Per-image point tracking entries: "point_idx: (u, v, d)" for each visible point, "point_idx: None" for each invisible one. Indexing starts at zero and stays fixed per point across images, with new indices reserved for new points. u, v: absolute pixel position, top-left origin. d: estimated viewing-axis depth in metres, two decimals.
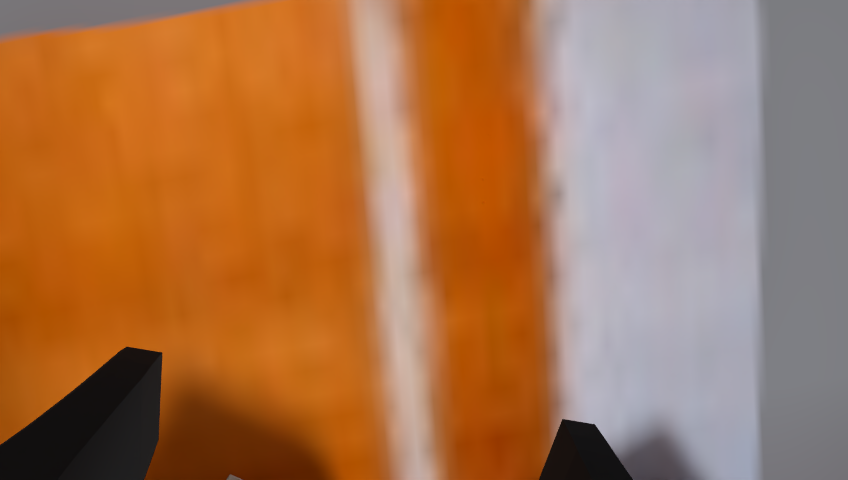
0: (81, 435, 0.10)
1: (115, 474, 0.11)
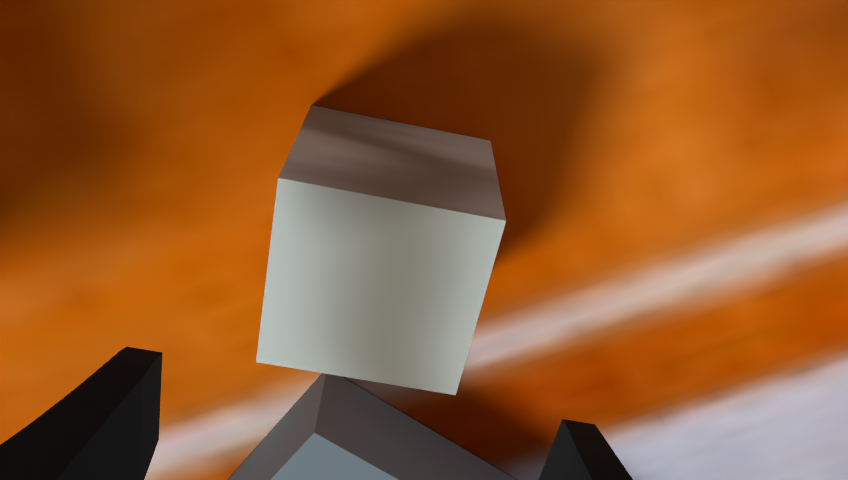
0: (81, 435, 0.10)
1: (115, 474, 0.11)
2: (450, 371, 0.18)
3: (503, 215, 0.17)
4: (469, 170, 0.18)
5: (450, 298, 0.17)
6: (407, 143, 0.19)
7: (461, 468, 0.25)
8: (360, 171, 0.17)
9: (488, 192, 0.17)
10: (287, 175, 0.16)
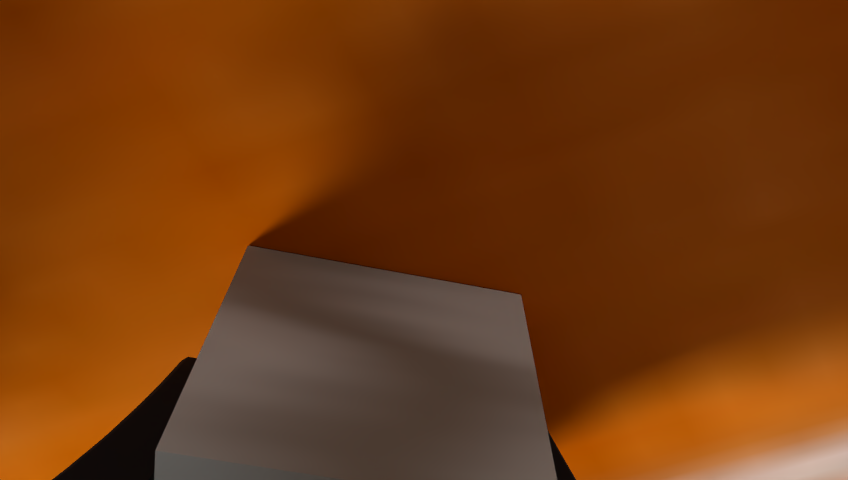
0: None
1: None
2: None
3: None
4: (493, 377, 0.11)
5: None
6: (393, 320, 0.12)
7: None
8: (311, 406, 0.10)
9: (527, 432, 0.10)
10: (174, 440, 0.09)
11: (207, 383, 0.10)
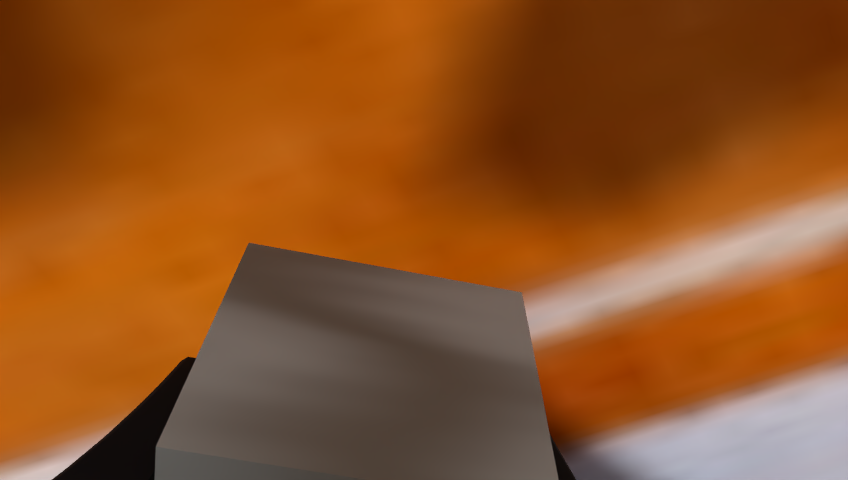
0: None
1: None
2: None
3: None
4: (494, 374, 0.11)
5: None
6: (394, 318, 0.12)
7: None
8: (312, 404, 0.10)
9: (528, 430, 0.10)
10: (175, 437, 0.09)
11: (208, 380, 0.10)
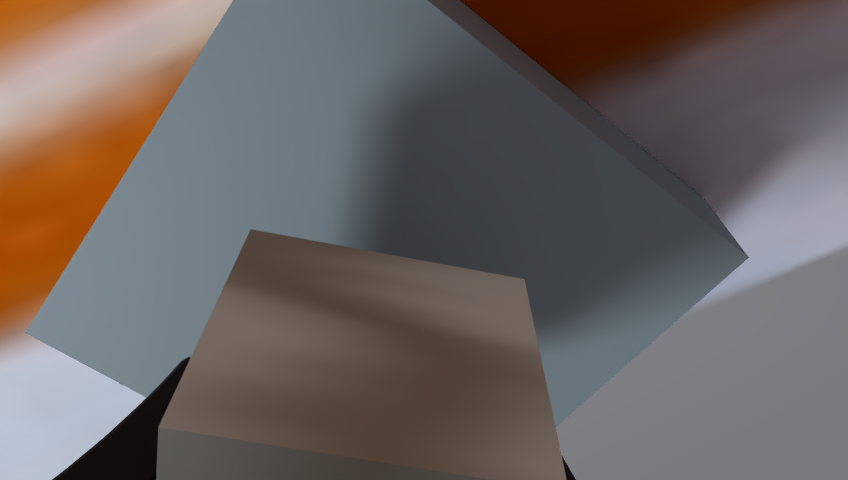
0: None
1: None
2: None
3: (562, 470, 0.09)
4: (497, 358, 0.11)
5: None
6: (396, 303, 0.12)
7: (524, 60, 0.16)
8: (314, 386, 0.10)
9: (532, 413, 0.10)
10: (177, 417, 0.09)
11: (210, 362, 0.10)
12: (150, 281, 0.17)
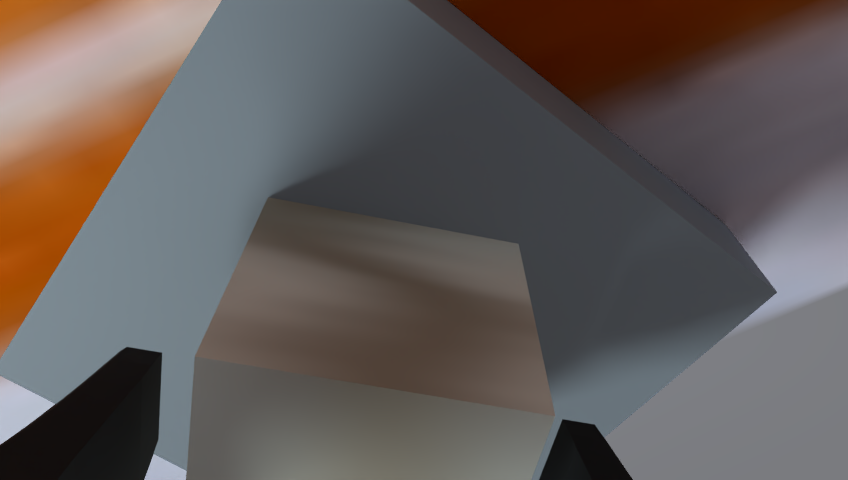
0: (81, 435, 0.10)
1: (115, 474, 0.11)
2: None
3: (549, 400, 0.11)
4: (492, 308, 0.12)
5: None
6: (402, 261, 0.13)
7: (532, 78, 0.15)
8: (330, 327, 0.11)
9: (523, 353, 0.11)
10: (210, 349, 0.10)
11: (237, 306, 0.11)
12: (127, 317, 0.16)
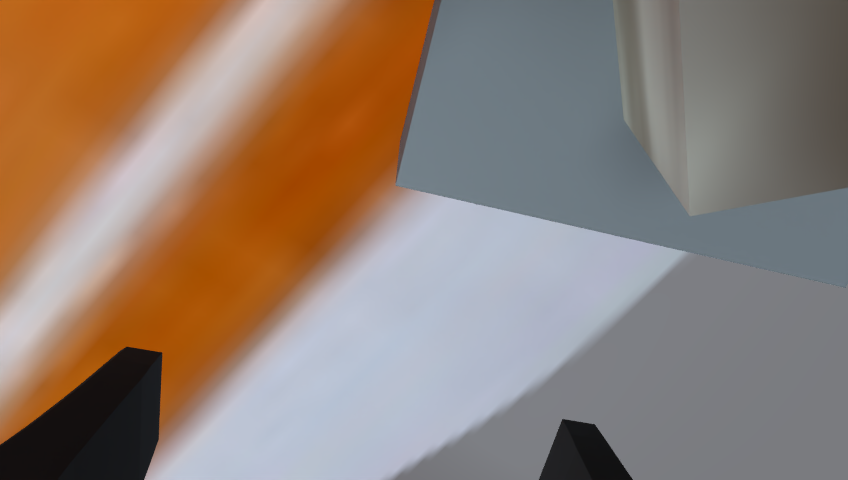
0: (81, 435, 0.10)
1: (115, 474, 0.11)
2: None
3: None
4: None
5: None
6: None
7: None
8: None
9: None
10: None
11: None
12: (499, 78, 0.17)
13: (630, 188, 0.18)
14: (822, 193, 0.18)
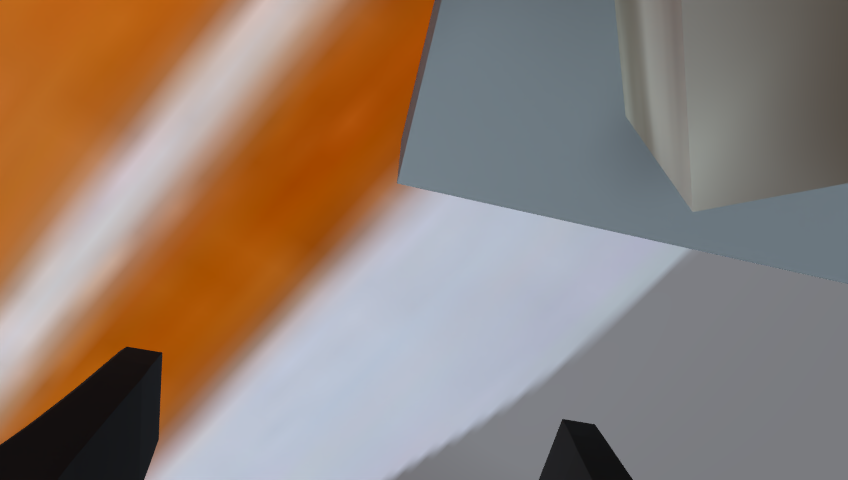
0: (81, 435, 0.10)
1: (115, 474, 0.11)
2: None
3: None
4: None
5: None
6: None
7: None
8: None
9: None
10: None
11: None
12: (501, 75, 0.17)
13: (632, 185, 0.18)
14: (825, 189, 0.18)
